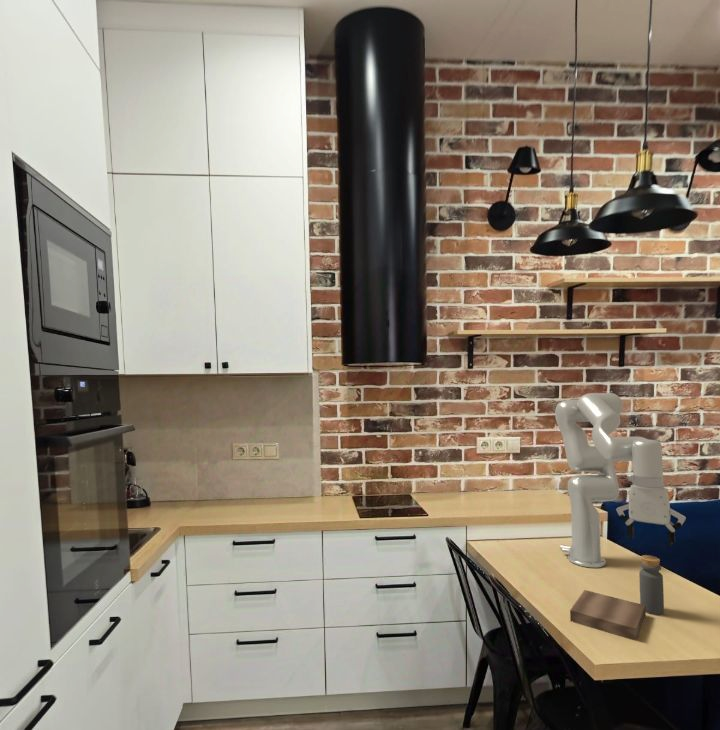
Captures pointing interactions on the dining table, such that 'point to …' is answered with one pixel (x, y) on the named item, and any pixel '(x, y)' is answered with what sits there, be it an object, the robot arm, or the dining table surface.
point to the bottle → (651, 585)
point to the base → (609, 614)
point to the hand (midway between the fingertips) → (650, 541)
